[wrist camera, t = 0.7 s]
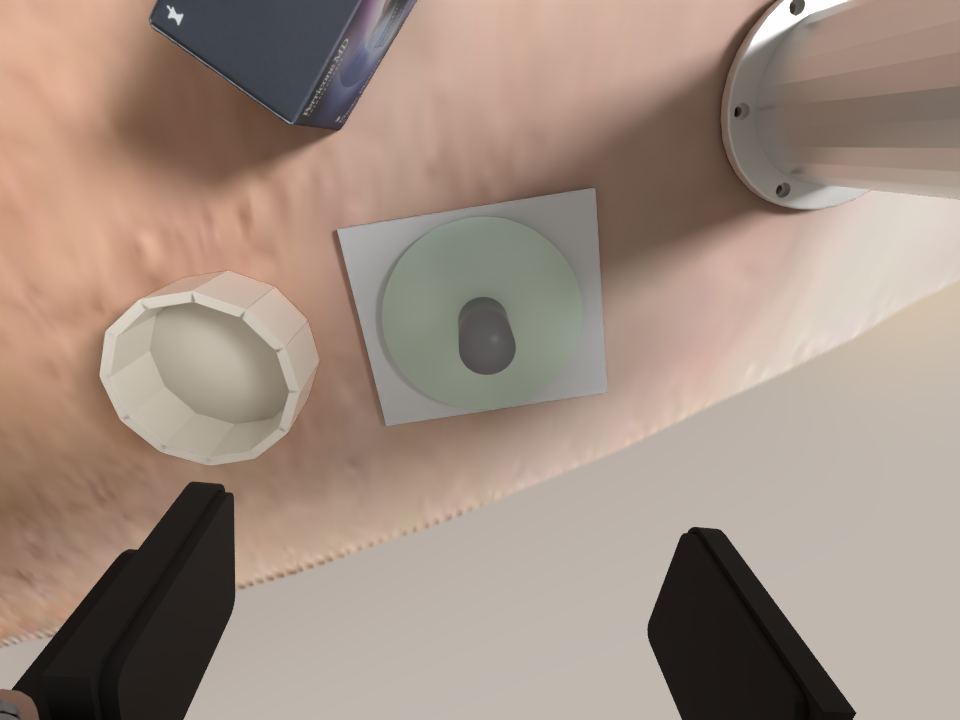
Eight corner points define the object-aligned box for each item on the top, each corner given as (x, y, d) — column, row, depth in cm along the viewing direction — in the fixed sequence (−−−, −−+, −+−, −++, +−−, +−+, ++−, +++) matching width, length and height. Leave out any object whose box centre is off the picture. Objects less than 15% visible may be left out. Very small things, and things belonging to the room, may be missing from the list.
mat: (593, 187, 32) (595, 188, 32) (605, 388, 38) (607, 392, 37) (338, 228, 32) (336, 229, 32) (387, 422, 38) (386, 426, 37)
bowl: (290, 260, 33) (263, 279, 28) (334, 411, 37) (317, 449, 33) (121, 287, 33) (67, 310, 29) (184, 434, 37) (146, 475, 33)
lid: (571, 200, 32) (595, 212, 26) (586, 389, 37) (608, 430, 32) (362, 233, 32) (344, 251, 27) (405, 416, 37) (397, 463, 32)
